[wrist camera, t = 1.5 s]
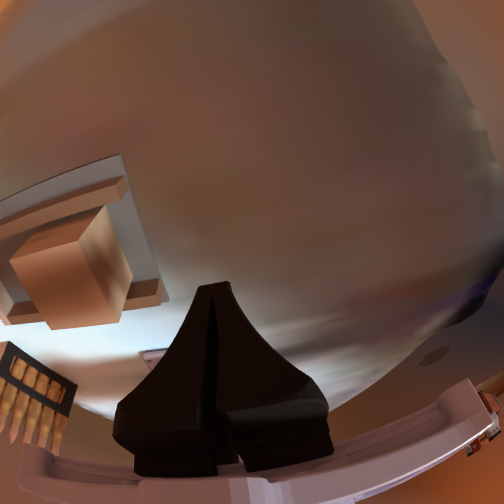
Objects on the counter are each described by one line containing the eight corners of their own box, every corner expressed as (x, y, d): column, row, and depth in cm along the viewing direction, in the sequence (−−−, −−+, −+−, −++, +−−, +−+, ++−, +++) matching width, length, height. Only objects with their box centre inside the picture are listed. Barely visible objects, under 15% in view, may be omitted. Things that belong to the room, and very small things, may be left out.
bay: (169, 298, 22) (166, 318, 20) (19, 319, 22) (11, 335, 20) (120, 153, 16) (108, 162, 14) (-34, 220, 15) (-48, 232, 13)
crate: (133, 275, 20) (118, 322, 16) (72, 287, 20) (51, 330, 16) (105, 204, 17) (77, 240, 13) (41, 224, 17) (9, 260, 13)
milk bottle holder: (479, 389, 61) (503, 431, 44) (493, 391, 74) (511, 423, 58) (432, 427, 69) (451, 468, 52) (458, 422, 82) (473, 453, 66)
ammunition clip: (7, 346, 24) (-24, 423, 13) (9, 340, 23) (-24, 420, 13) (73, 389, 29) (57, 468, 18) (78, 385, 28) (61, 467, 18)
